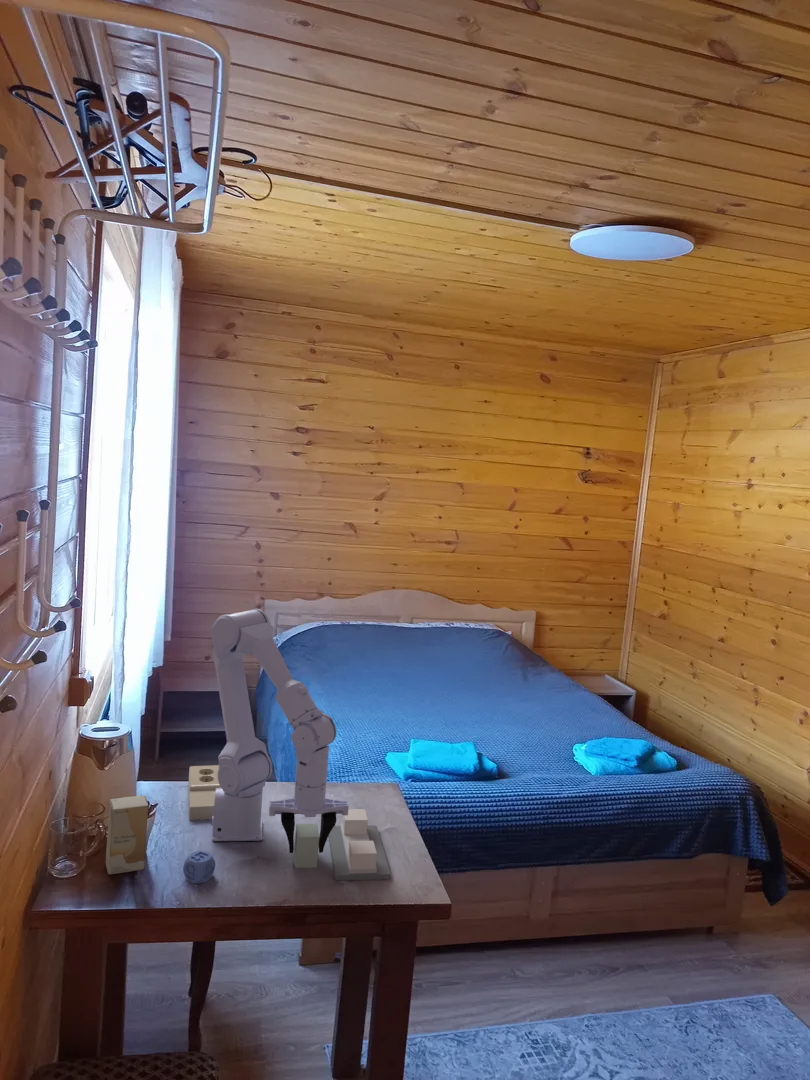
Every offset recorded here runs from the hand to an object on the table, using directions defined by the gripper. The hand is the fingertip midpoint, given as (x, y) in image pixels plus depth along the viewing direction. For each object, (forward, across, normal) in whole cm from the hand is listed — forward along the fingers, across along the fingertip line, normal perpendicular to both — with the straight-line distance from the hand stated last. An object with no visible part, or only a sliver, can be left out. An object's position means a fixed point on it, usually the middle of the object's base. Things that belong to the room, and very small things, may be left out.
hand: (306, 850), depth 147 cm
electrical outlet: (+3, -20, +25) cm, 32 cm away
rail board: (+2, +10, +2) cm, 10 cm away
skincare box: (+2, -32, -1) cm, 32 cm away
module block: (+2, 0, 0) cm, 2 cm away
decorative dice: (+2, -19, -5) cm, 20 cm away
